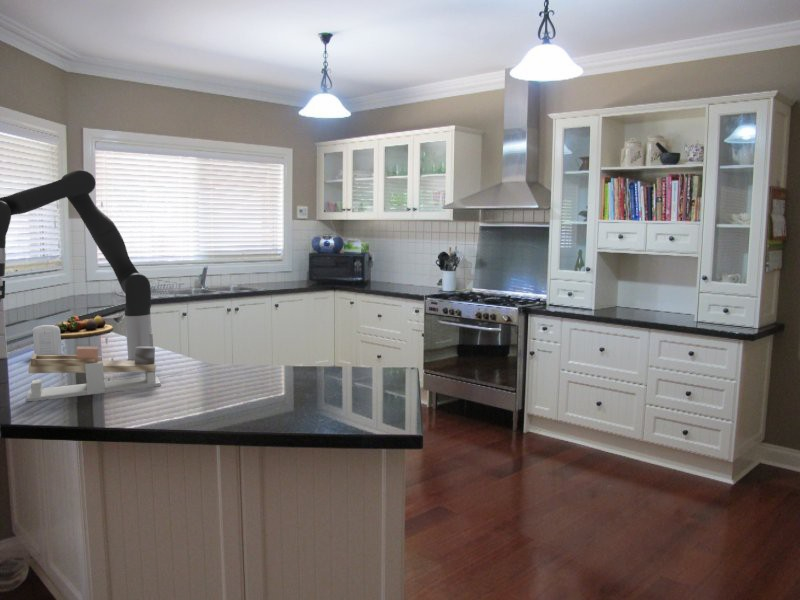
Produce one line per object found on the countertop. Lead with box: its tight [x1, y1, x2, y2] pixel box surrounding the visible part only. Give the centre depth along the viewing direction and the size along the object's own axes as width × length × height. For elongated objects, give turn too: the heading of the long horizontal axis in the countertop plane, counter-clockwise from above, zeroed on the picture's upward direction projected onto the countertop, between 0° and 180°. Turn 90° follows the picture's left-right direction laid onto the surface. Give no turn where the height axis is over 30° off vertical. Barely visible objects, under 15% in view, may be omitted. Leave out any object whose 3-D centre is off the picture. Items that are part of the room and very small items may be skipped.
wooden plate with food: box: [54, 315, 114, 339], centre depth 327 cm, size 32×32×8 cm
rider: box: [76, 345, 99, 363], centre depth 212 cm, size 6×5×5 cm
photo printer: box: [32, 324, 63, 355], centre depth 272 cm, size 10×4×12 cm, turn 98°
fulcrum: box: [26, 355, 161, 402], centre depth 213 cm, size 38×12×10 cm, turn 115°
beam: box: [28, 346, 157, 374], centre depth 213 cm, size 36×9×7 cm, turn 116°
